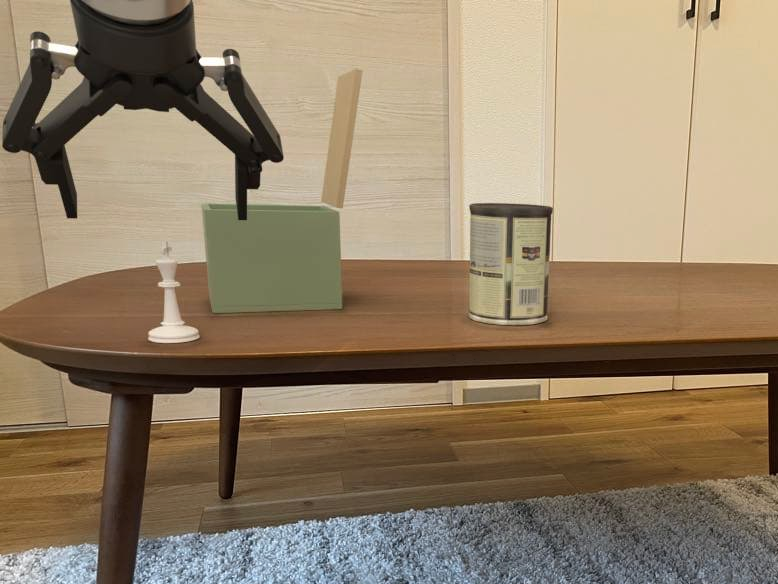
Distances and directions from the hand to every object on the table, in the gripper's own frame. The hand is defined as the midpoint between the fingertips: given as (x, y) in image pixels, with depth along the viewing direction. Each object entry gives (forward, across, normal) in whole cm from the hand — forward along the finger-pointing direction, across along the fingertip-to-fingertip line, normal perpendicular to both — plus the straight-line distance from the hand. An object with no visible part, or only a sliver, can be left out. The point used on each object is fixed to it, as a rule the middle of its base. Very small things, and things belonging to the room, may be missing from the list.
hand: (160, 208), depth 69 cm
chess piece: (+16, 0, -4) cm, 17 cm away
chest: (+30, +12, +10) cm, 34 cm away
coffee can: (+19, +39, -1) cm, 43 cm away
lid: (+15, +21, +25) cm, 36 cm away
